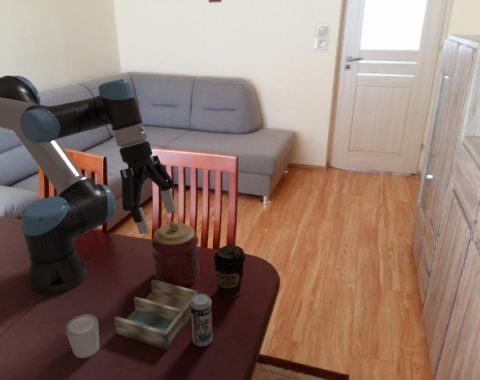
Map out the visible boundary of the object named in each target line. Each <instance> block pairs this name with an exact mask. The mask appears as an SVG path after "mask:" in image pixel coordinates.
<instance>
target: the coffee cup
mask: <svg viewBox="0 0 480 380" xmlns="http://www.w3.org/2000/svg"><path fill="white" fill-rule="evenodd" d="M246 256H247V255H246V253H245V252H244V249H243V248H242V247H240V246H237V245H234V244H231V245H230V244H229V245H225V246H222V247H219V248H217V250H216V252H215V253H214V256H213V260H214V267H215V268H214V269H215V270H214V271H215V279H216V283H217V292H218V294H219V295H220V296H221V297H224V298H235V297H238V296H240V295H241V293H242V288H241V285H242V279H243V276H244V267H245V265H244V264H245V261H246Z"/></svg>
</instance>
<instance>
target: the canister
mask: <svg viewBox="0 0 480 380" xmlns="http://www.w3.org/2000/svg"><path fill="white" fill-rule="evenodd" d="M198 243H199V237H198V235H197V234H196V232H195V229H194V228H193V227H192V226H191V225H187V224H186V223H184V222H183V223H182V222H177V221H171V222H170V223H166V224H163V225H162V226H161V227H158V229H156V230H155V232H154V233H153V238H152V240H151V246H152V248H153V250H152V257H153V266H154V270H153V272H154V278H155V280H158V281H161V282H165V283H169V284H173V285H176V286H180V287H184V288H187V287H188V286H191V285H192V284H194V283H195V282H196V281H197V280H198V278H199V274H200V265H199V264H200V263H199V252H200V251H199V250H200V249H199V246H198Z"/></svg>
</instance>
